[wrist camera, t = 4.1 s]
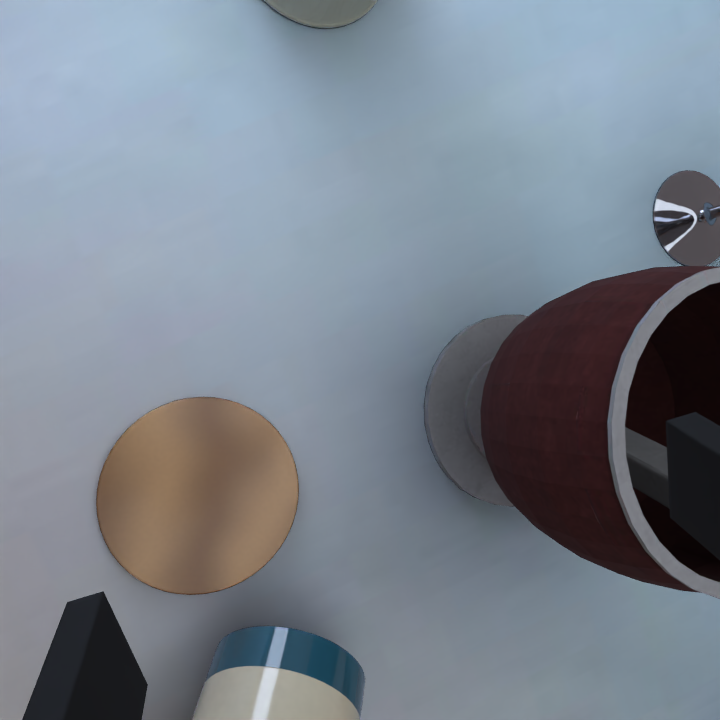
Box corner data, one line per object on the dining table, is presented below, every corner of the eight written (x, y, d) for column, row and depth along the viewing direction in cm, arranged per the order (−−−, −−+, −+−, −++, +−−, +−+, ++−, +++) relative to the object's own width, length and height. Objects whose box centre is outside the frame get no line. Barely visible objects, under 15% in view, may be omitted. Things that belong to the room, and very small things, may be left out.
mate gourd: (383, 339, 37) (610, 298, 18) (566, 277, 41) (909, 191, 22) (458, 575, 38) (748, 772, 19) (630, 492, 42) (1010, 585, 23)
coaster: (113, 613, 32) (112, 618, 31) (83, 414, 32) (81, 415, 31) (308, 563, 35) (311, 567, 35) (281, 383, 35) (284, 383, 34)
